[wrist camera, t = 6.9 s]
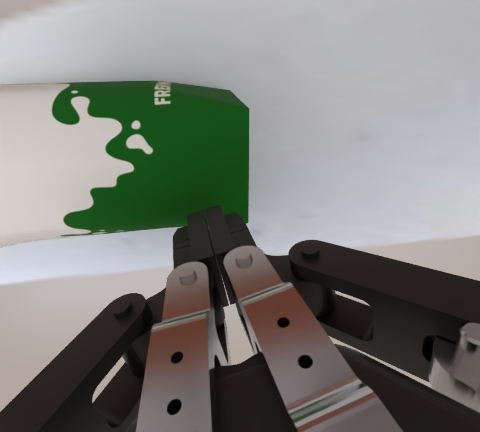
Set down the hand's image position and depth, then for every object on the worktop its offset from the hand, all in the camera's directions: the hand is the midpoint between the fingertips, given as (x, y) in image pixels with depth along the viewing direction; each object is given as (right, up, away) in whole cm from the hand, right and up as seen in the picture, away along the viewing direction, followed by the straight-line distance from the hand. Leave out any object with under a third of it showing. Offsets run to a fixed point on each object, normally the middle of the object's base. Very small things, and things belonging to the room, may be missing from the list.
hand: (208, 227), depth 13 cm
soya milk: (+2, +5, +7) cm, 9 cm away
